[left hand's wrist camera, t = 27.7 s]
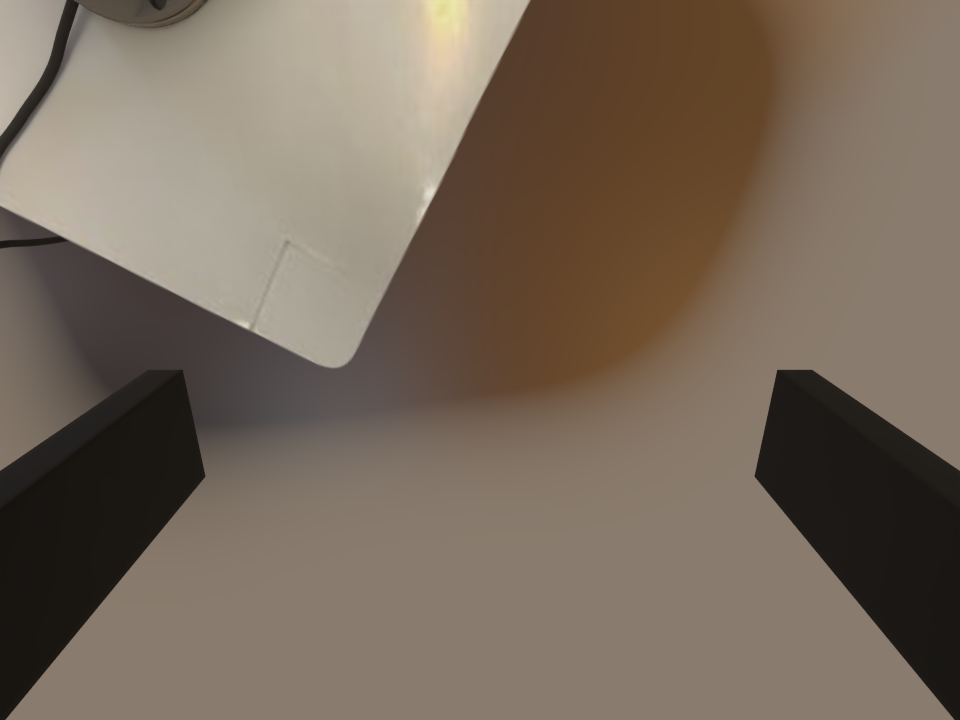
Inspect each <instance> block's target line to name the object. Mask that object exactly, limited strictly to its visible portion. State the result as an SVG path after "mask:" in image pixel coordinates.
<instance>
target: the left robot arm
mask: <svg viewBox="0 0 960 720" xmlns="http://www.w3.org/2000/svg"><path fill="white" fill-rule="evenodd" d="M205 1H206V0H67V1H66V4H65V7H64V10H63V14H62V17H61V20H60V23H59V26H58V30H57V33H56V37H55V41H54V45H53V49H52V53H51V56H50V59H49V62H48V65H47V67H46V69H45V71H44V73H43V75H42V77H41V79H40V80H39V82H38V84H37V85H36V87H35V88H34V90H33V91H32V93H31V94H30V95H29V97H28V98H27V100H26V101H25V103H24V104H23V105H22V107H21V108H20V110H19V111H18V113H17V114H16V116H15V117H14V119H13V120H12V122H11V123H10V125H9V126H8V127H7V129H6V130H5V131H4V133H3V134H2V135H1V137H0V158H1V156H2V154H3V152H4V151H5V149H6V148H7V146H8V145H9V144H10V142H11V141H12V140H13V138H14V137H15V136H16V135H17V133H18V132H19V131H20V129H21V128H22V126H23V125H24V123H25V122H26V120H27V119H28V117H29V116H30V114H31V113H32V112H33V110H34V109H35V107H36V106H37V105H38V103H39V102H40V100H41V99H42V98H43V96H44V95H45V93H46V92H47V90H48V89H49V87H50V85H51V84H52V82H53V80H54V78H55V76H56V74H57V72H58V70H59V67H60V65H61V62H62V59H63V55H64V51H65V47H66V43H67V39H68V36H69V33H70V30H71V27H72V24H73V20H74V17H75V14H76V11H77V8H78V5H79V4H81V5H82V6H84V7H85V8H87V9H89V10H91V11H92V12H94V13H96V14H98V15H101V16H103V17H106V18H108V19H111V20H114V21H117V22H120V23H124V24H127V25H132V26H137V27H159V26H165V25H169V24H173V23H175V22H178V21H180V20H182V19H184V18H186V17H187V16H189V15H191V14H192V13H193V12H195V11H196V10H197V9H198V8H199V7H200V6H201V5H202V4H203V3H204V2H205ZM67 241H70V240H68V239H66V238H64V237H62V236H57V237H50V238H41V239H24V240H4V241H0V249H1V248H10V247H29V246H40V245H48V244H55V243H61V242H67ZM204 478H205V472H204V468H203V463H202V459H201V454H200V449H199V444H198V440H197V435H196V430H195V426H194V421H193V416H192V412H191V407H190V402H189V397H188V393H187V388H186V383H185V379H184V374H183V370H147V371H146V372H144V373H143V374H141V375H140V376H138V377H137V378H135V379H134V380H133V381H131V382H130V383H128V384H127V385H125V386H124V387H122V388H121V389H119V390H118V391H116V392H115V393H113V394H112V395H111V396H109V397H108V398H106V399H105V400H103V401H102V402H100V403H99V404H97V405H96V406H95V407H93V408H92V409H90V410H89V411H87V412H86V413H84V414H83V415H81V416H80V417H78V418H77V419H76V420H74V421H73V422H71V423H70V424H68V425H67V426H65V427H64V428H62V429H61V430H59V431H58V432H57V433H55V434H54V435H52V436H51V437H49V438H48V439H46V440H45V441H43V442H42V443H40V444H39V445H38V446H36V447H35V448H33V449H32V450H30V451H29V452H27V453H26V454H24V455H23V456H22V457H20V458H19V459H17V460H16V461H14V462H13V463H11V464H10V465H8V466H7V467H5V468H4V469H2V470H1V471H0V720H5V719H6V718H7V717H8V716H9V715H10V713H11V712H12V711H13V710H14V709H15V707H16V706H17V705H18V704H19V703H20V701H21V700H22V699H23V698H24V696H25V695H26V694H27V693H28V692H29V690H30V689H31V688H32V687H33V685H34V684H35V683H36V682H37V681H38V679H39V678H40V677H41V676H42V675H43V673H44V672H45V671H46V670H47V668H48V667H49V666H50V665H51V664H52V662H53V661H54V660H55V659H56V657H57V656H58V655H59V654H60V653H61V651H62V650H63V649H64V648H65V647H66V645H67V644H68V643H69V642H70V640H71V639H72V638H73V637H74V636H75V634H76V633H77V632H78V631H79V630H80V628H81V627H82V626H83V625H84V623H85V622H86V621H87V620H88V619H89V617H90V616H91V615H92V614H93V613H94V611H95V610H96V609H97V608H98V606H99V605H100V604H101V603H102V602H103V600H104V599H105V598H106V597H107V595H108V594H109V593H110V592H111V591H112V589H113V588H114V587H115V586H116V585H117V583H118V582H119V581H120V580H121V579H122V577H123V576H124V575H125V574H126V572H127V571H128V570H129V569H130V568H131V566H132V565H133V564H134V563H135V561H136V560H137V559H138V558H139V557H140V555H141V554H142V553H143V552H144V551H145V549H146V548H147V547H148V546H149V544H150V543H151V542H152V541H153V540H154V538H155V537H156V536H157V535H158V534H159V532H160V531H161V530H162V529H163V527H164V526H165V525H166V524H167V523H168V521H169V520H170V519H171V518H172V517H173V515H174V514H175V513H176V512H177V510H178V509H179V508H180V507H181V506H182V504H183V503H184V502H185V501H186V499H187V498H188V497H189V496H190V495H191V493H192V492H193V491H194V490H195V489H196V487H197V486H198V485H199V484H200V482H201V481H202V480H203V479H204ZM755 478H756V479H757V480H758V481H759V482H760V484H761V485H762V486H763V487H764V489H765V490H766V491H767V492H768V493H769V495H770V496H771V497H772V498H773V500H774V501H775V502H776V503H777V504H778V506H779V507H780V508H781V509H782V510H783V512H784V513H785V514H786V515H787V517H788V518H789V519H790V520H791V521H792V523H793V524H794V525H795V526H796V527H797V529H798V530H799V531H800V532H801V534H802V535H803V536H804V537H805V538H806V540H807V541H808V542H809V543H810V544H811V546H812V547H813V548H814V549H815V551H816V552H817V553H818V554H819V555H820V557H821V558H822V559H823V560H824V562H825V563H826V564H827V565H828V566H829V568H830V569H831V570H832V571H833V572H834V574H835V575H836V576H837V577H838V579H839V580H840V581H841V582H842V583H843V585H844V586H845V587H846V588H847V589H848V591H849V592H850V593H851V594H852V596H853V597H854V598H855V599H856V600H857V602H858V603H859V604H860V605H861V606H862V608H863V609H864V610H865V611H866V613H867V614H868V615H869V616H870V617H871V619H872V620H873V621H874V622H875V623H876V625H877V626H878V627H879V628H880V630H881V631H882V632H883V633H884V634H885V636H886V637H887V638H888V639H889V641H890V642H891V643H892V644H893V645H894V647H895V648H896V649H897V650H898V651H899V653H900V654H901V655H902V656H903V658H904V659H905V660H906V661H907V662H908V664H909V665H910V666H911V667H912V668H913V670H914V671H915V672H916V673H917V674H918V676H919V677H920V678H921V679H922V681H923V682H924V683H925V684H926V686H927V687H928V688H929V689H930V690H931V692H932V693H933V694H934V695H935V696H936V698H937V699H938V700H939V701H940V703H941V704H942V705H943V706H944V707H945V709H946V710H947V711H948V712H949V713H950V715H951V716H952V717H953V718H954V720H960V471H959V470H958V469H956V468H955V467H953V466H952V465H950V464H949V463H947V462H946V461H944V460H943V459H941V458H940V457H939V456H937V455H936V454H934V453H933V452H931V451H930V450H928V449H927V448H925V447H924V446H922V445H921V444H920V443H918V442H917V441H915V440H914V439H912V438H911V437H909V436H908V435H906V434H905V433H903V432H902V431H901V430H899V429H898V428H896V427H895V426H893V425H892V424H890V423H889V422H887V421H886V420H884V419H883V418H882V417H880V416H879V415H877V414H876V413H874V412H873V411H871V410H870V409H868V408H867V407H865V406H864V405H863V404H861V403H860V402H858V401H857V400H855V399H854V398H852V397H851V396H849V395H848V394H846V393H845V392H844V391H842V390H841V389H839V388H838V387H836V386H835V385H833V384H832V383H830V382H829V381H828V380H826V379H825V378H823V377H822V376H820V375H819V374H817V373H816V372H814V371H813V370H777V374H776V379H775V383H774V388H773V393H772V397H771V402H770V407H769V412H768V416H767V421H766V426H765V430H764V435H763V440H762V444H761V449H760V454H759V458H758V463H757V468H756V472H755Z"/></svg>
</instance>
